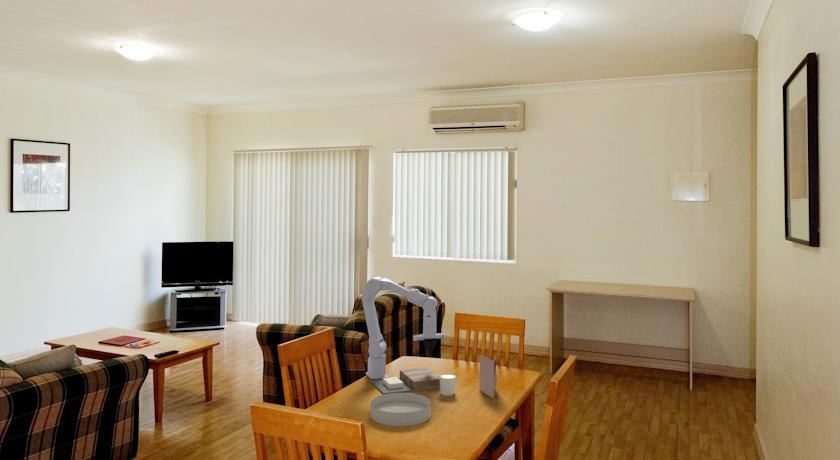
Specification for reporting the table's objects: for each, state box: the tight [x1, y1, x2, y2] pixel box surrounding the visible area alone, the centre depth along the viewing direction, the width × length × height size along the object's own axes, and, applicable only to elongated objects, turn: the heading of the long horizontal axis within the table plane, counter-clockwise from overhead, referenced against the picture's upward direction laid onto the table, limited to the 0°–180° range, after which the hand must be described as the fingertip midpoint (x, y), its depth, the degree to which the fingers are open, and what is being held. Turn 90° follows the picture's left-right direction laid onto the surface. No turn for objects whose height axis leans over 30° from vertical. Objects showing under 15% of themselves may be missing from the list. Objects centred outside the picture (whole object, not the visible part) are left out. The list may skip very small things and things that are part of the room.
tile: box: [382, 376, 403, 389], centre depth 255 cm, size 9×6×2 cm, turn 21°
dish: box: [369, 392, 432, 427], centre depth 222 cm, size 22×22×5 cm
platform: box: [399, 367, 440, 392], centre depth 259 cm, size 18×12×4 cm, turn 21°
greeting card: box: [478, 354, 498, 399], centre depth 246 cm, size 11×7×15 cm, turn 168°
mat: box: [370, 377, 414, 395], centre depth 255 cm, size 18×12×1 cm
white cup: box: [438, 373, 457, 396], centre depth 247 cm, size 7×7×7 cm
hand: (429, 355), depth 265 cm, fingers closed
